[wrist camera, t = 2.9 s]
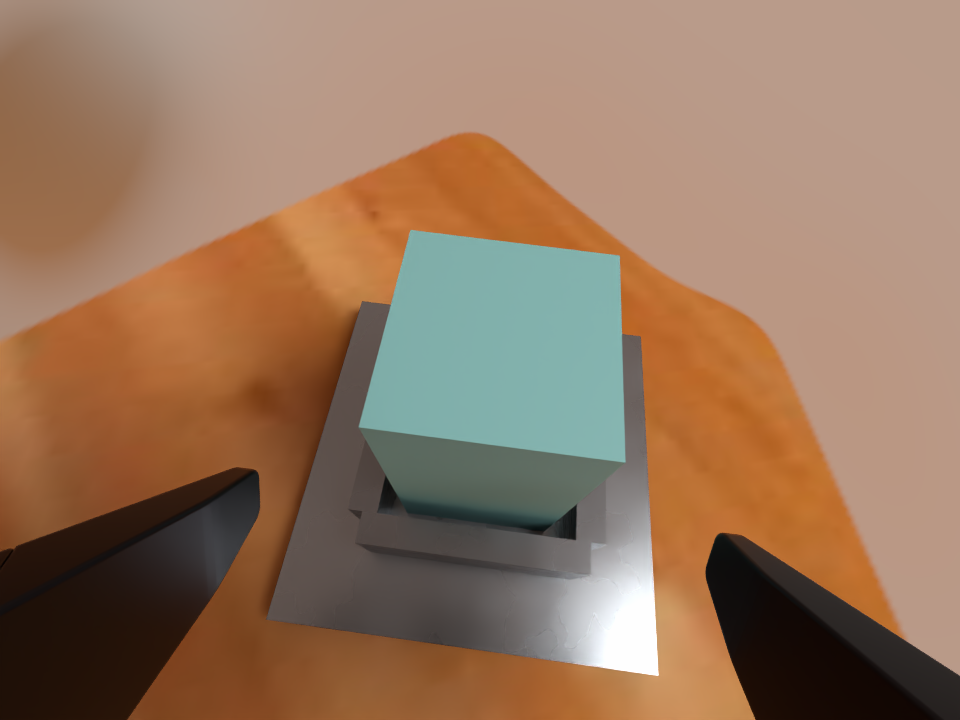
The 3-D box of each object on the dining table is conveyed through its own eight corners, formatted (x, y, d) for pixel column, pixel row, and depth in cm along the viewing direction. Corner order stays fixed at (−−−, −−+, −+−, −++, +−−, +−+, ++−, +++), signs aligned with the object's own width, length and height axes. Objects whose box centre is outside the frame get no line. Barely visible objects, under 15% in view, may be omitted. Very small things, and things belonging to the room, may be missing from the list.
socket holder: (646, 671, 17) (698, 690, 13) (277, 618, 17) (228, 622, 14) (632, 348, 24) (664, 301, 20) (366, 314, 24) (349, 261, 20)
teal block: (544, 531, 18) (625, 462, 9) (407, 513, 18) (358, 427, 9) (551, 404, 21) (619, 255, 12) (431, 388, 21) (410, 229, 12)
